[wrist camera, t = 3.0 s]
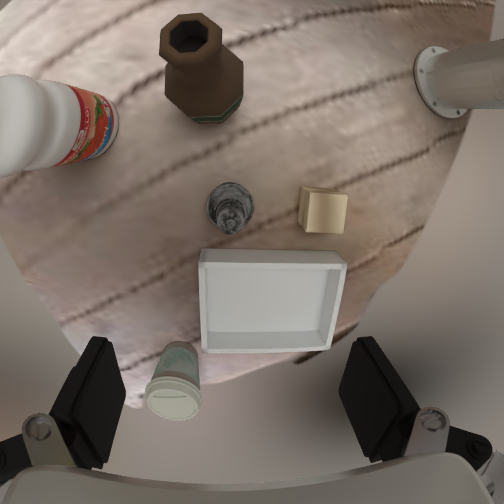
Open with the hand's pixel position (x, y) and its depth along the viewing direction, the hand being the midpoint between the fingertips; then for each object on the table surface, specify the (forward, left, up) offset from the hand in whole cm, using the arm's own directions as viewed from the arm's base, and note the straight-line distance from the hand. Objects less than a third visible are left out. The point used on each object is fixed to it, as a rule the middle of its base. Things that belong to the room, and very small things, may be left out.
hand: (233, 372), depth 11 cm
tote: (-6, +14, -31) cm, 35 cm away
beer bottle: (+3, -14, -32) cm, 35 cm away
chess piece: (0, 0, -32) cm, 32 cm away
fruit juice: (+20, -11, -32) cm, 39 cm away
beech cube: (-12, 0, -32) cm, 34 cm away
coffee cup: (+8, +26, -32) cm, 42 cm away
